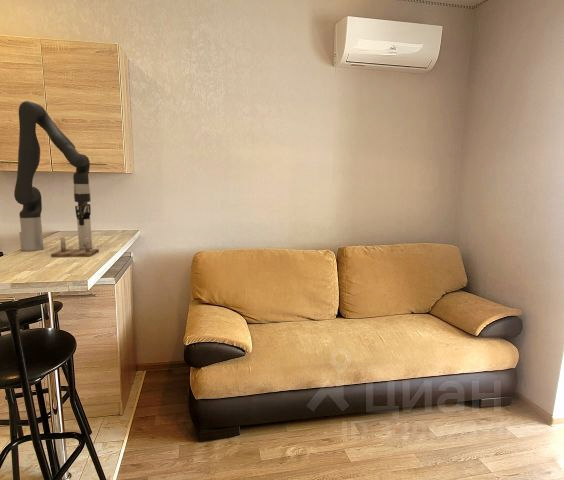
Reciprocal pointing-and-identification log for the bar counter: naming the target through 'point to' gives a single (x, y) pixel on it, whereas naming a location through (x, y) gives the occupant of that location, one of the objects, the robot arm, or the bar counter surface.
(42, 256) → the bar counter surface
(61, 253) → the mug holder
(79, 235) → the travel mug
